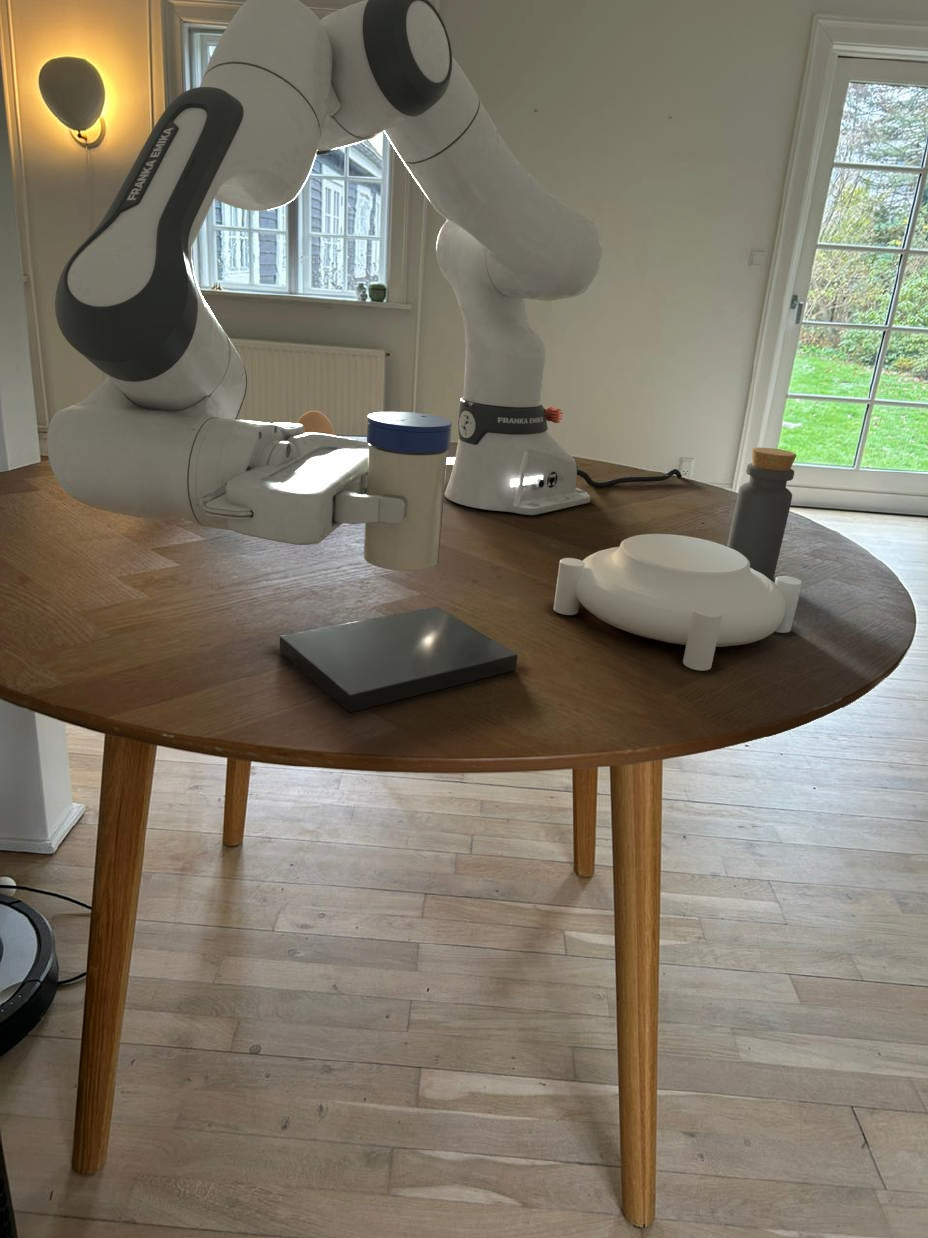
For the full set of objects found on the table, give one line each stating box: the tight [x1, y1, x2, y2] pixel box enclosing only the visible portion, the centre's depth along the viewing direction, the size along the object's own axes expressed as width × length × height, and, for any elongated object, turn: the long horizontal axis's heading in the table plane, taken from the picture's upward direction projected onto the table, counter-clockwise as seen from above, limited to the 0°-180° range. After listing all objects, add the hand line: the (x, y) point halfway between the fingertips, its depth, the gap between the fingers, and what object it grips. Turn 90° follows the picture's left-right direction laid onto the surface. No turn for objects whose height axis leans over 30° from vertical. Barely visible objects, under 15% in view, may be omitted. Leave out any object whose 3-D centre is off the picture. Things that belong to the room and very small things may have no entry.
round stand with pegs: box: [553, 533, 803, 672], centre depth 84 cm, size 24×24×7 cm
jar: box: [363, 444, 448, 572], centre depth 66 cm, size 6×6×11 cm
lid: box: [366, 411, 453, 453], centre depth 64 cm, size 6×6×2 cm
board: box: [279, 606, 518, 714], centre depth 71 cm, size 16×12×2 cm
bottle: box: [726, 447, 797, 582], centre depth 97 cm, size 6×6×15 cm
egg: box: [295, 410, 336, 436], centre depth 134 cm, size 7×7×9 cm
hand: (416, 498), depth 66 cm, fingers closed on jar, 6 cm apart
